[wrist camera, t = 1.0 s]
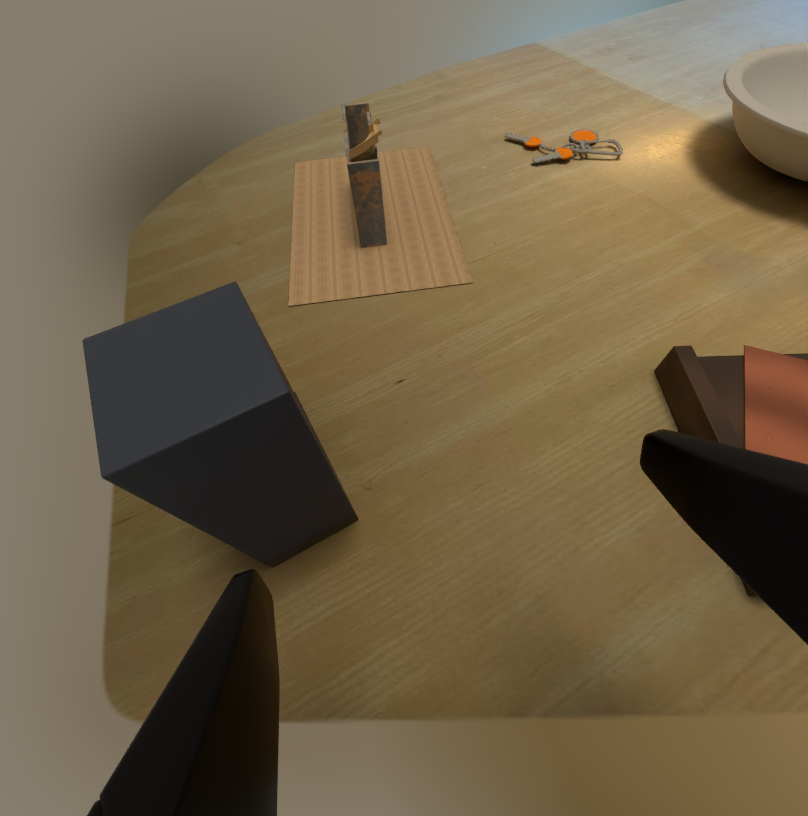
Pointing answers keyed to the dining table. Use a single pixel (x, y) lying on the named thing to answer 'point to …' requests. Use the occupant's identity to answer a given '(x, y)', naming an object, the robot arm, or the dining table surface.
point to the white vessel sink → (772, 106)
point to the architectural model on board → (371, 221)
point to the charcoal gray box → (212, 428)
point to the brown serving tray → (740, 400)
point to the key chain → (564, 153)
